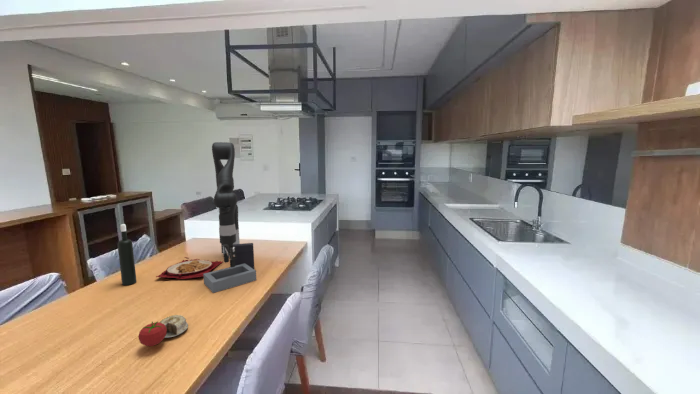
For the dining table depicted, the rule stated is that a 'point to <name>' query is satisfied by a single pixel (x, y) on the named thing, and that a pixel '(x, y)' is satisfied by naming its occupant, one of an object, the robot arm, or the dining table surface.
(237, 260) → the dark bevelled slab
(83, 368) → the dining table surface
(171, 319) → the cake
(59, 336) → the dining table surface
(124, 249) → the wine bottle
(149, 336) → the tomato
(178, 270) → the plate with food
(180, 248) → the dining table surface
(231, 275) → the tray
